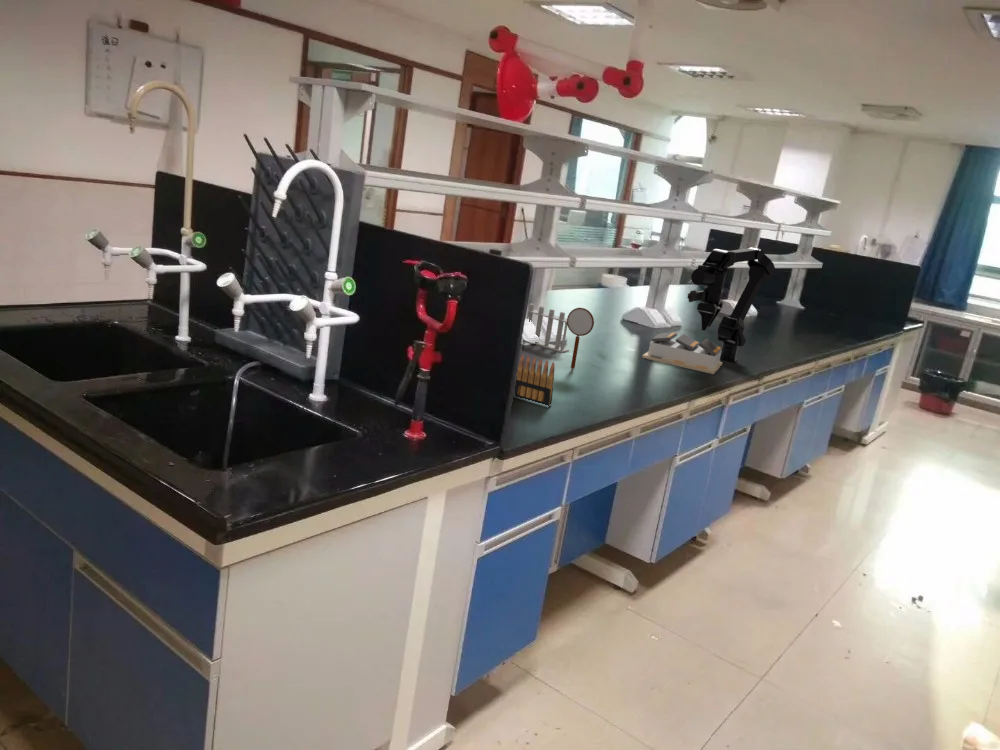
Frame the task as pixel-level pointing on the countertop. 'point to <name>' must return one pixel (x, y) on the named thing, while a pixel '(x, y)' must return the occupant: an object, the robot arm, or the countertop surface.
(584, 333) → the magnifying glass
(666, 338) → the switch
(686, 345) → the switch middle
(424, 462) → the countertop surface
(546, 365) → the ammunition clip
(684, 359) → the switch unit
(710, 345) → the switch
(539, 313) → the grey picket fence
